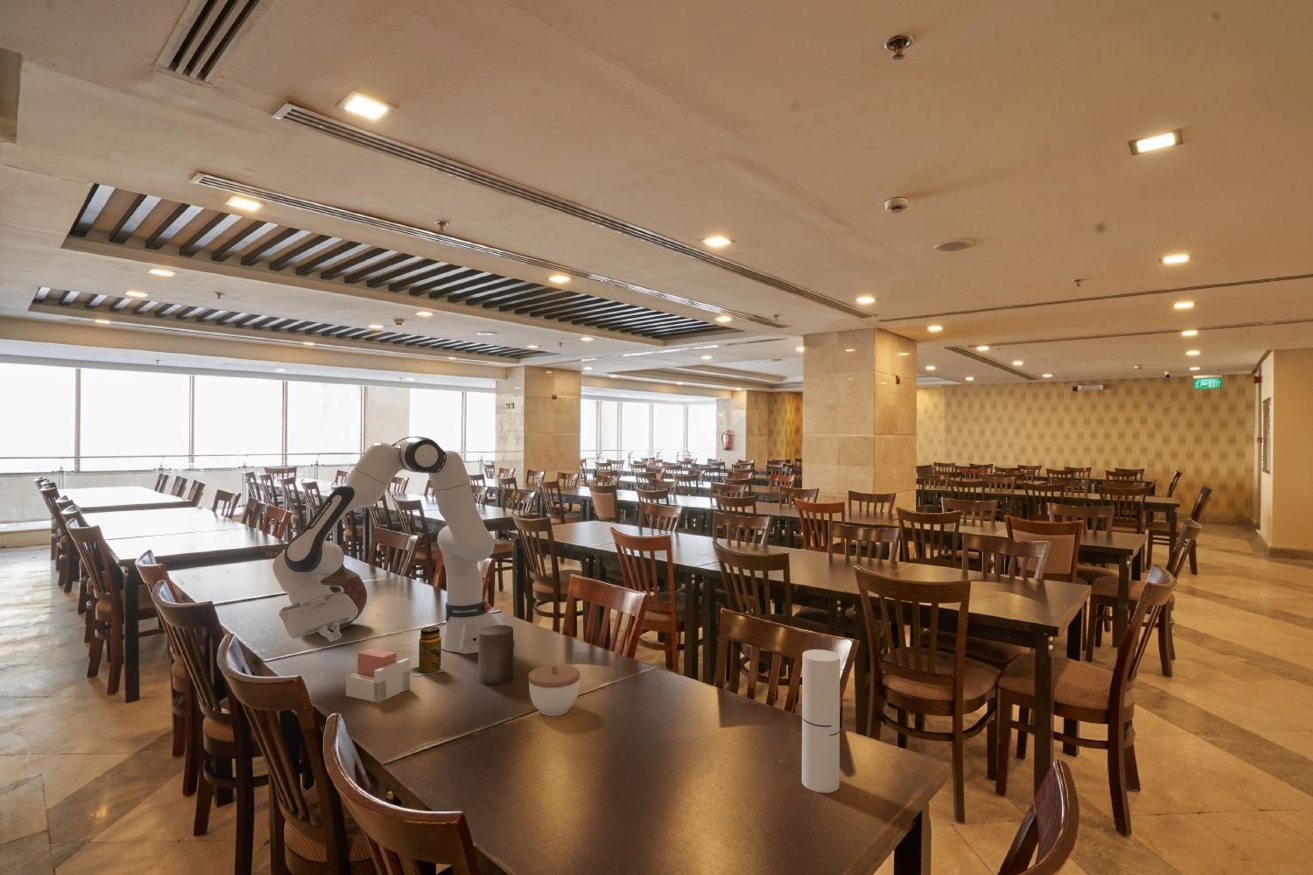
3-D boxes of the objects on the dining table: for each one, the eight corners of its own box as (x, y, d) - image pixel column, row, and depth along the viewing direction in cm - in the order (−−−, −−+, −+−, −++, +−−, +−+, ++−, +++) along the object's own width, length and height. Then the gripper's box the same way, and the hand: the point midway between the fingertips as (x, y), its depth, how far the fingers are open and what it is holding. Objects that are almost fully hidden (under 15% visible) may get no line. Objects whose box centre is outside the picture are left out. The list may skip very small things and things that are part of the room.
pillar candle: (520, 678, 185) (520, 624, 185) (490, 687, 178) (490, 631, 178) (500, 670, 192) (500, 618, 192) (470, 678, 184) (471, 624, 185)
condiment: (444, 671, 190) (445, 629, 190) (414, 677, 185) (414, 634, 185) (438, 664, 196) (438, 623, 196) (408, 669, 191) (408, 628, 192)
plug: (357, 690, 174) (357, 652, 174) (371, 684, 178) (371, 647, 178) (382, 696, 170) (382, 657, 170) (395, 690, 175) (396, 652, 175)
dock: (345, 695, 172) (346, 664, 172) (378, 681, 181) (378, 652, 181) (378, 702, 167) (378, 671, 167) (409, 688, 176) (410, 658, 177)
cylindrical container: (797, 774, 133) (797, 649, 133) (831, 773, 133) (832, 649, 133) (808, 793, 125) (809, 661, 126) (844, 791, 126) (845, 660, 126)
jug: (379, 626, 235) (379, 542, 235) (320, 641, 217) (321, 550, 217) (343, 617, 247) (344, 537, 247) (285, 630, 229) (286, 544, 229)
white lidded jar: (588, 703, 167) (588, 660, 167) (565, 723, 155) (565, 677, 155) (543, 697, 171) (544, 654, 171) (518, 716, 159) (518, 670, 160)
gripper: (281, 601, 175) (307, 643, 171) (346, 585, 194) (371, 621, 190) (270, 616, 177) (296, 657, 173) (336, 598, 196) (360, 635, 192)
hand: (336, 638), depth 182 cm, fingers closed
